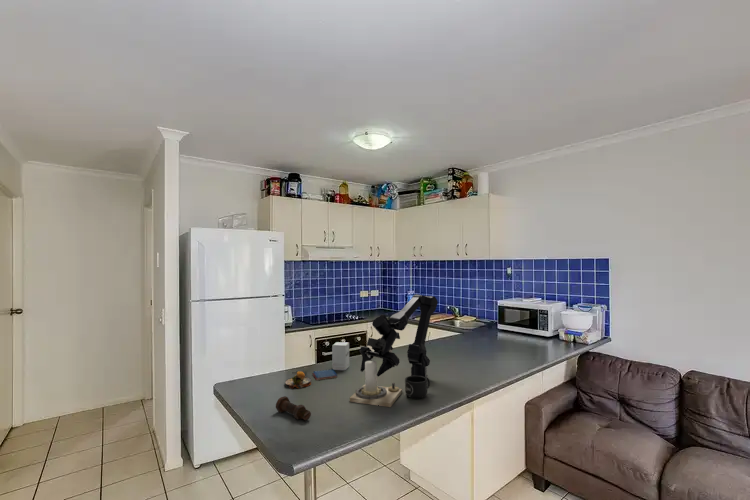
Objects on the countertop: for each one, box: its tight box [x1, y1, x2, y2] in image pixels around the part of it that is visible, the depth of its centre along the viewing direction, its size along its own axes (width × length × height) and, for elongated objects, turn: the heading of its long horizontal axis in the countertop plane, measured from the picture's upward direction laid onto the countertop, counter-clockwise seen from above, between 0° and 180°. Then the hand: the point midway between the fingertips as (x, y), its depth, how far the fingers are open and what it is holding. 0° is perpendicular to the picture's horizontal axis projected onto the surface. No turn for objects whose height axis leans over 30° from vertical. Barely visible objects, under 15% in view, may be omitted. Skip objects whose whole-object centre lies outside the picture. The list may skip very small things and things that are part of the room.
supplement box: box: [331, 341, 350, 371], centre depth 187 cm, size 7×7×13 cm
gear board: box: [349, 382, 403, 408], centre depth 148 cm, size 17×16×4 cm
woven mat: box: [312, 368, 338, 381], centre depth 175 cm, size 10×11×2 cm
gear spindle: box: [362, 360, 381, 396], centre depth 147 cm, size 8×8×12 cm
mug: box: [404, 375, 431, 400], centre depth 149 cm, size 12×9×7 cm
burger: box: [284, 369, 312, 390], centre depth 164 cm, size 12×12×8 cm
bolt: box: [275, 396, 312, 421], centre depth 131 cm, size 6×5×15 cm
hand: (369, 373), depth 147 cm, fingers open, 9 cm apart
